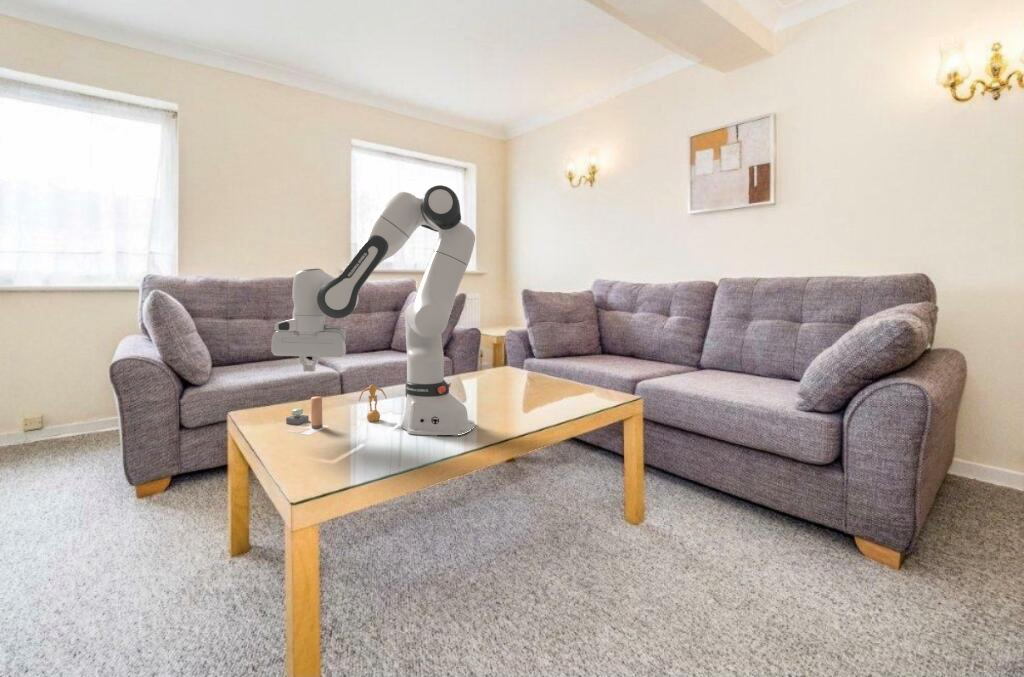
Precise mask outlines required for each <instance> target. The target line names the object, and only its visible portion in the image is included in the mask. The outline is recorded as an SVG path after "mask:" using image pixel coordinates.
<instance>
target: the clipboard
mask: <svg viewBox="0 0 1024 677" xmlns="http://www.w3.org/2000/svg"><path fill="white" fill-rule="evenodd" d="M309 418H310V417H309V415H307V414H300V415H299V418H296V415H291V416H287V417H286V418H285V422H286V424H288V425H295V426H293V427H291V428H290V429H287V430H284V431H283V432H284V433H290V434H291V433H292V434H296V435H307V436H311V435H313V434H315V433H317V432H319V431H322V430H324V429H326V428H329V427H330V425H325V424H323V427H322V428H320V429H312V422H310V423H309V421H310V420H309Z"/></svg>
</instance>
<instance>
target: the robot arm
mask: <svg viewBox="0 0 1024 677" xmlns="http://www.w3.org/2000/svg"><path fill="white" fill-rule="evenodd" d="M460 206H461V205H460V200H459V198H458V196H457V193H455V191H454V190H453V189H451V188H450V187H449V186H445V185H441V184H440V185H434V186H432V187H430V188H429V189H428V190H427V191H426V192H425V193H424V194H423V197H422V198H419V197H417V196H415V195H414V194H412V193H409V192H406V191H401V192H398V193H396V194H395V196H393V197H392V198H391V199H390V200H389V201H388V202H387V203H386V204H385V205H384V206H383V208H382V209H380V211H379V212H378V213H377V215H376V216H375V218H374V219H373V221H372V222H371V224H370V226H369V228H368V230H367V232H366V233H365V235H364V236H365V237H364V238H363V241H362V243H361V246H360V248H359V250H358V251H357V253H356V254H355V255H354V256H353V258H352V259H351V261H350V262H349V263H348V264H347V265H346V266H345V268H344V269H343V271H342V272H341V273H340V274H339V275H338V276H337V277H334V276H332V275H331V274H328V273H327V272H325V271H324V270H323V269H321V268H306V269H302V270H299V271H297V272H296V273H295V274H294V276H293V281H292V296H291V297H292V302H293V310H292V318H289V319H285V320H282V321H280V322H275V324H274V330H275V332H274V333H273V334H272V338H271V346H270V348H271V351H270V352H271V353H272V355H273V356H279V357H281V356H282V357H283V356H284V357H298V361H299V362H300V364H301V365H302V366H303V372H305V373H307V372H311V373H312V372H315V371H316V366H317V364H318V363H319V360H320V357H321V358H342V357H344V356H345V355H346V353H347V348H346V347H347V346H346V339H347V330H346V329H345V328H344V327H342V325H330V324H326V323H327V322H326V316H327V317H328V318H329V317H330V318H332V319H343V318H345V317H348V316H349V315H350V314H351V313H352V312H353V311H354V310H355V309H356V308H357V306H358V304H359V301H360V295H359V292H360V290H361V288H362V286H363V285H364V284H365V283H366V282H367V280H368V279H369V278H370V276H371V275H372V273H373V272H374V270H375V269H376V268H377V267H378V266H379V265H380V264H381V263H383V262H384V261H385V260H387V259H388V258H391V257H392V256H395V254H397V252H398V251H399V250H401V249H402V248H403V247H404V246H405V244H407V242H408V241H409V239H410V238H411V237H412V235H413V233H414V232H415V231H416V230H417V229H418V228H419V227H423V228H425V229H428V230H430V231H433V232H436V233H438V239H437V243H436V245H435V247H434V249H433V252H432V254H431V256H430V259H429V261H428V263H427V266H426V269H425V270H424V273H423V276H422V278H421V279H422V280H421V283H420V287H419V289H418V291H417V292H418V293H417V295H416V298H415V300H413V301H412V302H410V304H409V305H408V306H407V308H406V309H405V312H404V327H405V329H404V330H405V345H406V377H407V378H406V381H405V398H406V401H405V402H406V403H405V408H404V409H405V410H404V415H403V419H402V423H401V427H402V429H404V430H405V431H407V433H408V434H409V435H420V436H437V435H458V434H462V433H465V432H467V431H469V430H470V429H472V428H473V427H474V425H475V426H476V423H475V421H474V420H471V419H469V415H468V411H467V408H466V406H465V405H464V404H463V403H462V402H461V401H459V400H458V399H457V398H456V397H455V396H453V395H452V394H451V393H450V388H451V385H452V383H451V382H449V383H447V381H446V380H444V377H445V376H444V372H445V371H444V369H445V368H444V365H445V364H444V363H445V362H444V361H445V358H444V357H445V355H444V350H443V349H444V348H443V340H442V339H443V338H442V334H443V333H444V332H445V331H446V329H447V327H448V324H449V321H450V316H451V313H452V310H453V307H454V304H455V301H456V295H457V293H458V290H459V288H460V285H461V282H462V279H463V278H464V275H465V273H466V270H467V268H468V266H469V263H470V260H471V258H472V254H473V252H474V251H473V250H474V248H475V243H476V242H475V241H476V235H475V233H474V231H473V230H472V229H471V228H470V227H469V226H467V225H466V224H465V223H462V222H461V221H462V215H461V207H460ZM307 357H311V358H312V361H313V362H312V364H308V363H307V361H306V359H307ZM474 428H475V427H474Z"/></svg>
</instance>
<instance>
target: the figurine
mask: <svg viewBox="0 0 1024 677" xmlns="http://www.w3.org/2000/svg"><path fill="white" fill-rule="evenodd" d="M367 391H368V392H369V394H370V395H368V397H367V398H368V402H369V411H368V413H367V415H366V419H367V421H368V422H370V423H375V422H379V421H380V418H381V414H380V412H379V411H378V410H377V405H378V404H377V403H378V395H377V394H376V392H377V391H380V392H381V393H382V394H383V395H384V398H385V399H387V395H386V393H385V392H384V389H383V388H380V387H378V386H376V385H374V383H372V384H370V385H369V387H366V388H365V389H363V390H361V393H360V395H359V399H358V401H361V399H362V396H363V394H364V392H367ZM372 401H373V402H374V409H373V408H372V407H373V406H372V405H373V404H372Z"/></svg>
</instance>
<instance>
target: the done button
mask: <svg viewBox="0 0 1024 677" xmlns="http://www.w3.org/2000/svg"><path fill="white" fill-rule="evenodd" d="M290 412H291V416H293V415H296V418H299V415H304V409H303V408H301V407H300V408H299V407H298V408H292V409H291V411H290Z"/></svg>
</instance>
